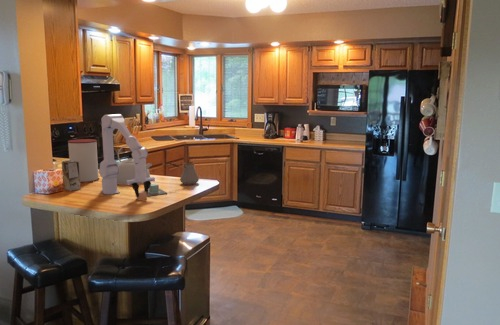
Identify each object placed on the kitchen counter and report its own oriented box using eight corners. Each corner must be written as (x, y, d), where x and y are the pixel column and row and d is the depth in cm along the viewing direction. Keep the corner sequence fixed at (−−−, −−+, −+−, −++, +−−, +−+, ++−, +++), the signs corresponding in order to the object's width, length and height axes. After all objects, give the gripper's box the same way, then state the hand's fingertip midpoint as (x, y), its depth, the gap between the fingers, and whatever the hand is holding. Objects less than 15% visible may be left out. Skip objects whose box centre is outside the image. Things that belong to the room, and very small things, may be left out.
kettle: (159, 177, 275) (158, 143, 271) (145, 185, 252) (143, 148, 249) (123, 176, 278) (121, 142, 274) (106, 184, 256) (104, 147, 252)
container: (67, 179, 269) (64, 140, 265) (95, 176, 278) (93, 138, 274) (73, 184, 255) (70, 143, 251) (102, 180, 264) (100, 141, 260)
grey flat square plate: (141, 192, 236) (141, 191, 236) (159, 189, 242) (159, 188, 242) (148, 196, 227) (148, 195, 227) (167, 193, 233) (167, 192, 233)
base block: (149, 191, 235) (148, 184, 234) (156, 190, 237) (155, 183, 236) (151, 193, 231) (151, 185, 231) (158, 192, 234) (158, 185, 233)
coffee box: (80, 189, 242) (79, 161, 239) (69, 191, 238) (67, 163, 235) (73, 186, 248) (71, 159, 246) (62, 188, 244) (60, 161, 241)
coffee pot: (192, 180, 266) (191, 157, 263) (202, 183, 257) (202, 159, 255) (162, 185, 252) (161, 161, 249) (172, 189, 243) (171, 163, 241)
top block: (136, 198, 223) (136, 191, 222) (144, 197, 225) (143, 190, 224) (139, 200, 219) (139, 192, 219) (146, 199, 222) (146, 191, 221)
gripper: (129, 173, 212) (130, 199, 215) (156, 170, 220) (157, 195, 223) (124, 171, 218) (126, 196, 220) (151, 168, 226) (152, 193, 228)
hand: (141, 196), depth 222 cm, fingers closed on top block, 4 cm apart
